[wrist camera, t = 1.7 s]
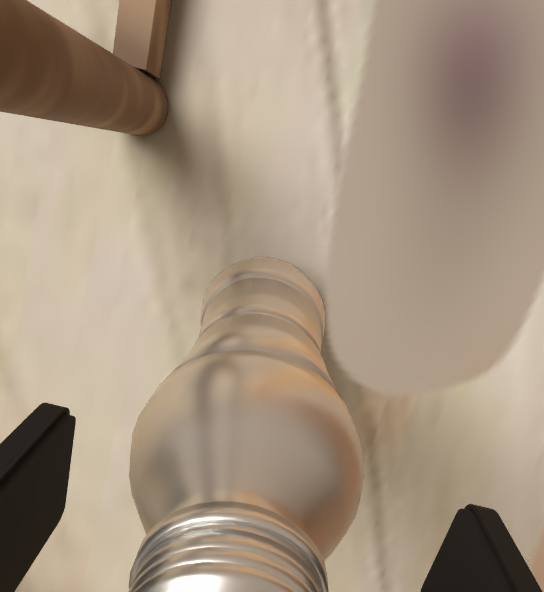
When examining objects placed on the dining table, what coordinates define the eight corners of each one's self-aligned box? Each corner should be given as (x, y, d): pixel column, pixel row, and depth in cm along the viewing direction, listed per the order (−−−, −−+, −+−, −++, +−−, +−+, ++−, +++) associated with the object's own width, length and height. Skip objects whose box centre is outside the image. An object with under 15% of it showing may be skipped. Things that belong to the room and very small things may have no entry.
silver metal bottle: (238, 228, 25) (93, 440, 6) (342, 282, 26) (503, 620, 7) (191, 323, 27) (-35, 717, 8) (290, 370, 28) (302, 838, 9)
